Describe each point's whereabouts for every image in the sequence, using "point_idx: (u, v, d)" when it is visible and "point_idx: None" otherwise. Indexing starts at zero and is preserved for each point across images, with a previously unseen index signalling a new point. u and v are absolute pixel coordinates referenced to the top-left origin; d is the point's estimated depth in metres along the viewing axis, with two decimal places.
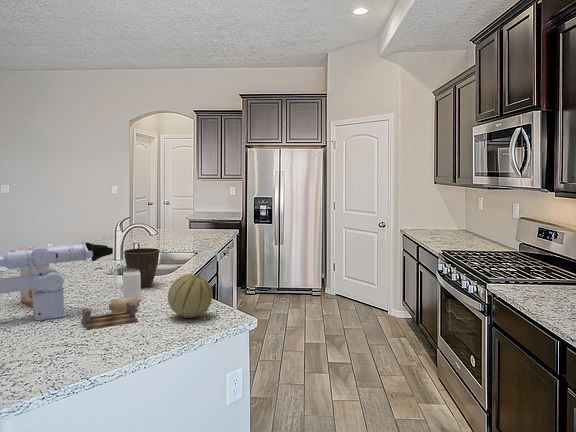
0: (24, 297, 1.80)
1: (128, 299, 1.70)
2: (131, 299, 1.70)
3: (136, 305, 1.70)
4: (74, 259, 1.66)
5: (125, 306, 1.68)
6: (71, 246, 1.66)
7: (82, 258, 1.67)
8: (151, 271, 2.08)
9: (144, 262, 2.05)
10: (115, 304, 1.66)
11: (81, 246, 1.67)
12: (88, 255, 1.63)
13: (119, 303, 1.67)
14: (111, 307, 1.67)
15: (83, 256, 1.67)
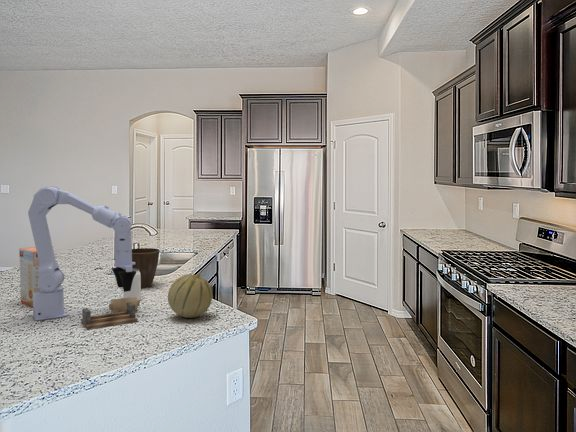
0: (24, 297, 1.80)
1: (128, 299, 1.70)
2: (131, 299, 1.70)
3: (136, 305, 1.70)
4: (118, 255, 1.66)
5: (125, 306, 1.68)
6: (131, 252, 1.69)
7: (119, 263, 1.67)
8: (151, 271, 2.08)
9: (144, 262, 2.05)
10: (115, 304, 1.66)
11: (131, 261, 1.69)
12: (128, 267, 1.63)
13: (119, 303, 1.67)
14: (111, 307, 1.67)
15: (122, 263, 1.66)
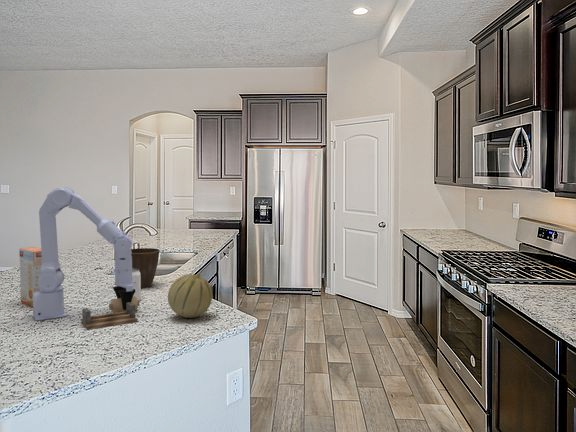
0: (24, 297, 1.80)
1: None
2: None
3: (136, 305, 1.70)
4: (119, 274, 1.67)
5: None
6: (131, 271, 1.70)
7: (119, 282, 1.67)
8: (151, 271, 2.08)
9: (144, 262, 2.05)
10: (115, 304, 1.66)
11: (131, 280, 1.70)
12: (128, 287, 1.64)
13: (119, 303, 1.67)
14: (111, 307, 1.67)
15: (122, 282, 1.67)
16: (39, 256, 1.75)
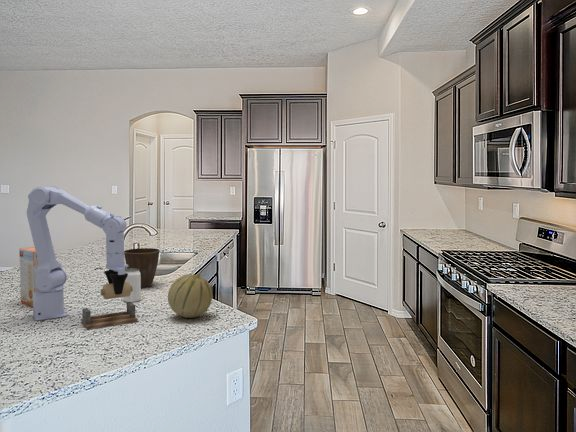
0: (24, 297, 1.80)
1: None
2: (124, 284, 1.63)
3: (129, 290, 1.63)
4: (110, 257, 1.60)
5: None
6: None
7: (111, 265, 1.60)
8: (151, 271, 2.08)
9: (144, 262, 2.05)
10: (107, 289, 1.59)
11: (123, 264, 1.62)
12: (120, 270, 1.56)
13: (111, 288, 1.60)
14: (103, 292, 1.60)
15: (114, 266, 1.60)
16: None
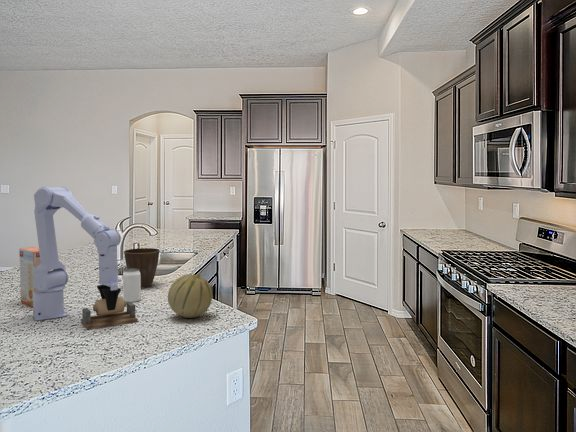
0: (24, 297, 1.80)
1: None
2: (117, 299, 1.58)
3: (123, 306, 1.58)
4: (103, 272, 1.54)
5: None
6: (117, 268, 1.57)
7: (103, 280, 1.54)
8: (151, 271, 2.08)
9: (144, 262, 2.05)
10: (100, 305, 1.54)
11: (116, 278, 1.57)
12: (113, 286, 1.51)
13: (104, 304, 1.55)
14: (95, 308, 1.54)
15: (106, 281, 1.54)
16: (39, 256, 1.75)
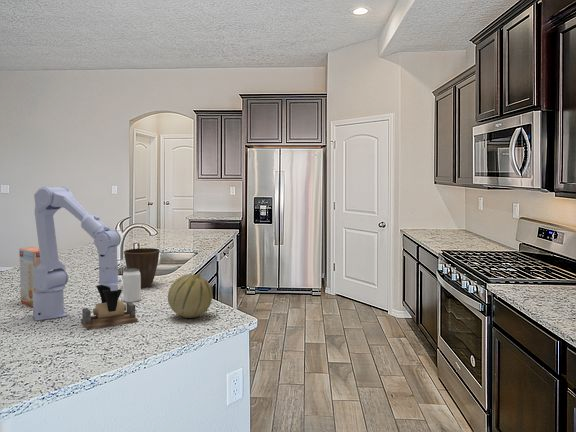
0: (24, 297, 1.80)
1: None
2: (117, 303, 1.58)
3: (122, 310, 1.58)
4: (103, 272, 1.54)
5: None
6: (117, 269, 1.57)
7: (103, 280, 1.54)
8: (151, 271, 2.08)
9: (144, 262, 2.05)
10: (99, 309, 1.54)
11: (116, 279, 1.57)
12: (113, 286, 1.51)
13: (104, 308, 1.55)
14: (95, 312, 1.54)
15: (106, 281, 1.54)
16: (39, 256, 1.75)
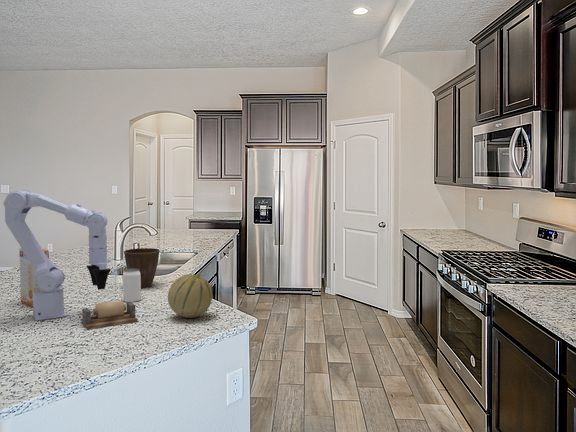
0: (24, 297, 1.80)
1: (114, 303, 1.57)
2: (117, 303, 1.58)
3: (122, 310, 1.58)
4: (93, 253, 1.63)
5: (110, 311, 1.56)
6: (106, 250, 1.66)
7: (93, 260, 1.64)
8: (151, 271, 2.08)
9: (144, 262, 2.05)
10: (99, 309, 1.54)
11: (106, 259, 1.66)
12: (101, 265, 1.60)
13: (104, 308, 1.55)
14: (95, 312, 1.54)
15: (96, 261, 1.64)
16: None
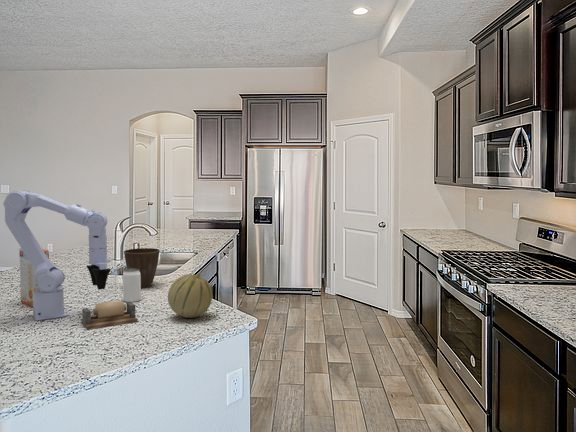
0: (24, 297, 1.80)
1: (114, 303, 1.57)
2: (117, 303, 1.58)
3: (122, 310, 1.58)
4: (93, 253, 1.64)
5: (110, 311, 1.56)
6: (106, 249, 1.67)
7: (93, 260, 1.64)
8: (151, 271, 2.08)
9: (144, 262, 2.05)
10: (99, 309, 1.54)
11: (106, 259, 1.66)
12: (101, 265, 1.60)
13: (104, 308, 1.55)
14: (95, 312, 1.54)
15: (96, 261, 1.64)
16: None
